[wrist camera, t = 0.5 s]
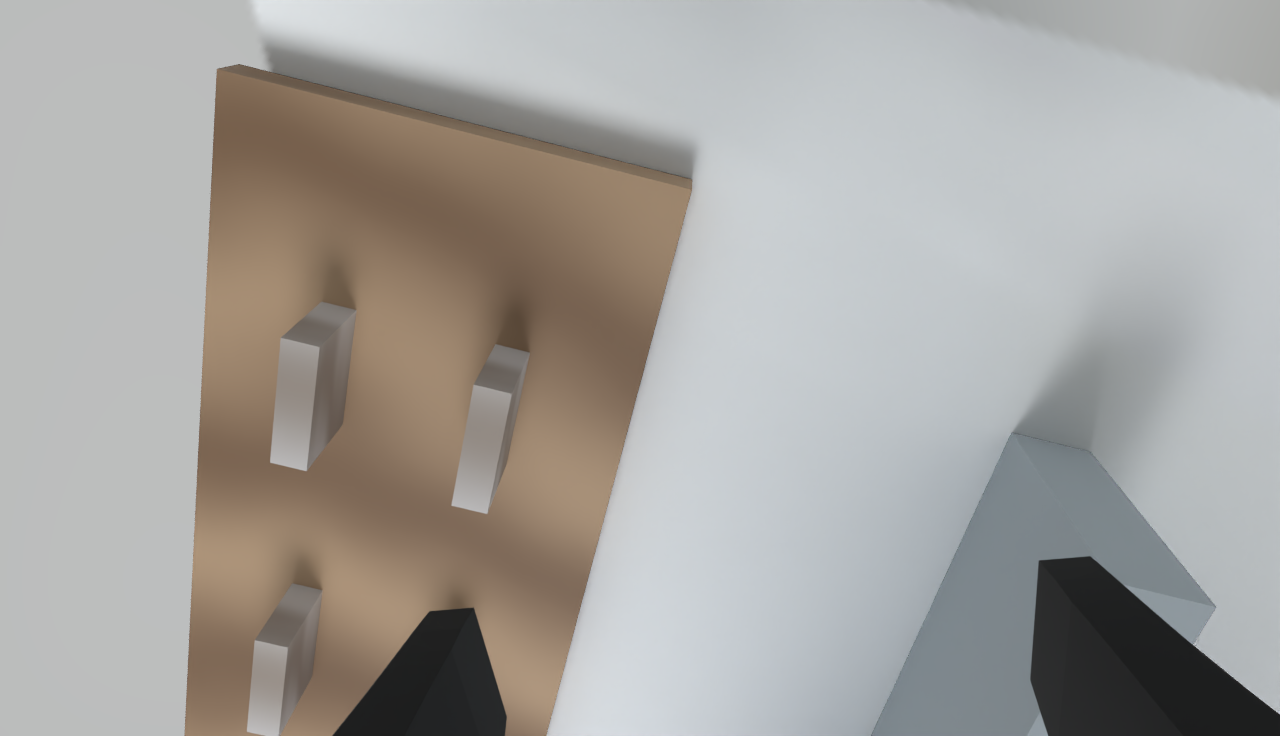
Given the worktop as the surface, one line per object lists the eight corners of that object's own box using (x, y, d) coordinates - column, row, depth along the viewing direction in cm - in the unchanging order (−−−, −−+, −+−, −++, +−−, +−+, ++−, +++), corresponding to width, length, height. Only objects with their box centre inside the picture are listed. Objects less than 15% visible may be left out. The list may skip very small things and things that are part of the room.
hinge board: (523, 812, 28) (503, 910, 25) (200, 740, 28) (141, 831, 25) (692, 179, 20) (690, 215, 17) (239, 64, 20) (158, 81, 17)
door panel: (913, 794, 27) (968, 1005, 22) (848, 780, 27) (886, 987, 21) (1089, 449, 22) (1215, 607, 17) (1009, 430, 22) (1112, 582, 17)
